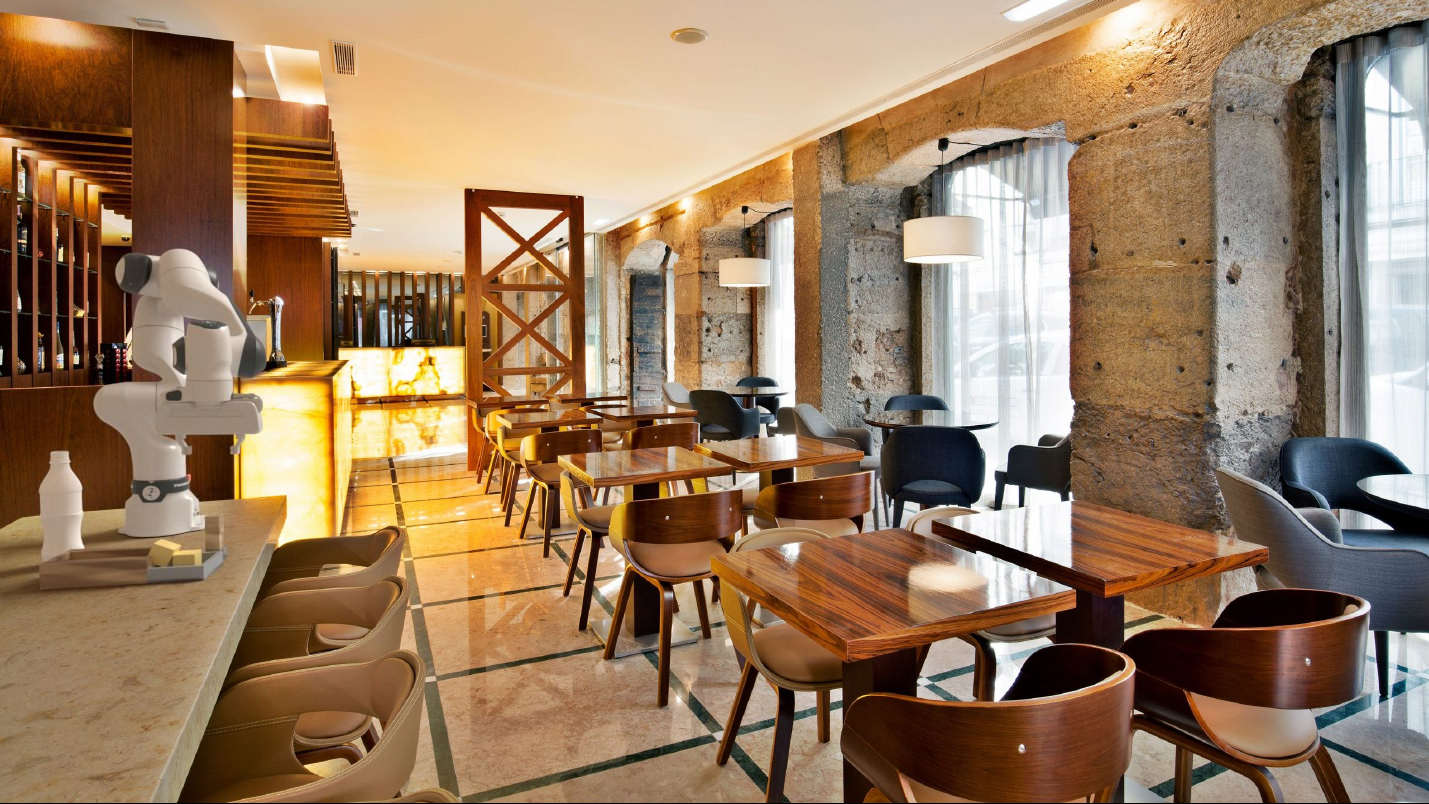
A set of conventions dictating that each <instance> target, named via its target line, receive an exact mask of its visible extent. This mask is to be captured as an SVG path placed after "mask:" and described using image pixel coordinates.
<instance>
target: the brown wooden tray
mask: <svg viewBox="0 0 1429 804" xmlns="http://www.w3.org/2000/svg"><path fill="white" fill-rule="evenodd" d="M152 546H153V545H139V546H138V545H136V546H135V545H133V546H113V547H92V548H89V547H88V548H84V549H71V550H68V551H66V552H64V553H62V554H60V555H58V556H56V557H54V558H52V559H50V560H48V561H46V562H44V563H43V562H42V563H40V564H39V565H38V573H39V590H40V591H43V590H55V589H57V590H58V589H59V590H61V589H76V588H90V587H108V586H109V587H110V586H125V585H127V586H128V585H142V584H143V585H144V584H148V583H147V569H148V568H156V567H162V566H159V565H156V564H152V556H148V554H149V552H150V550H151V548H152ZM167 567H168V566H167Z"/></svg>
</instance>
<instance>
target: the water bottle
mask: <svg viewBox="0 0 1429 804" xmlns="http://www.w3.org/2000/svg"><path fill="white" fill-rule="evenodd" d="M69 452H70V451H67V450H55V451H51V452H50V455H49V456H50V459H49V460H50V461H49V462H48V463H49V465H50V466H49V470H48V472H47V474H46V476H45V477H44V478H43V480H42V481H41V483H40V485H39V489H38V494H39V507H40V511H39V512H40V514H39V521H40V524H41V526H42V529H43V545H42V548H41V550H40V556H41V561H42V563H44V562H46V561H48V560H50V559H52V558H54V557H56V556H58V555H60V554H62V553H64V552H66V551H68V550H71V549H85V545H84V544H83V540H82V534H81V533H82V532H81V527H82V522H83V518H84V510H83V495H82V494H83V493H82V491H83V485H82V483H81V481H80V480H79V478H78V477H77V475H76V474H75V472H74V471H73V470H72V468H71V466H70V463H71V460H70V459H71V458H70V457H69V455H70V454H69Z"/></svg>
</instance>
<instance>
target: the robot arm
mask: <svg viewBox="0 0 1429 804" xmlns="http://www.w3.org/2000/svg"><path fill="white" fill-rule="evenodd" d="M115 279H116V283H117V286H118V287H119V288H120V289H121V290H122V291H124V292H126V293H129V294H132V295H133V294H134V295H141V297H139V300H137V304H136V307H135V311H134V316H133V322H132V323H133V324H132V345H131V346H132V349H131V356H132V360H133V361H134V363H135V364H136V365H137V366H138V367H140V368H141V369H143V370H146V371H148V372H149V373H150V372H151V373H153V374H156V375H158V376H159V377H160V378H161V380H159V381H123V382H118V383H111V384H106V385H103V386H102V387H100V389H98V390H97V392H96V393H95V396H94V397H93V409H94V412H95V414H96V416H97V417H98V418H99V419H100V420H101V421H102V422H103V423H106V424H107V425H109V426H111V427H112V428H113V429H115V430H116V431H117V432H119V433H120V435H121V436H122V437H123V438H124V440H125V441H126V443H127V444H128V446H129V449H130V453H131V454H130V455H131V462H132V476H133V477H132V479H131V480H130V481H131V483H130V488H131V489H130V490H131V493H132V495H131V497H129V498H128V499H127V500H126V501H125V505H124V506H125V507H124V526H123V527H120V528H118V530H117V533H118V534H121V535H122V534H123V535H127V536H129V537H136V538H139V537H140V538H144V537H145V538H147V537H148V538H151V537H152V538H153V537H163V536H164V537H165V536H171V535H172V536H173V535H177V534H178V535H179V534H182V533H183V534H184V533H188V532H194V531H200V530H201V531H202V530H203V529H204V530H205V516H207V515H208V514H207V515H206V514H200V500H199V498H197V497H196V495H194V493H193V492H192V491H191V490H190V488H191V487H190V482H191V478H192V476H191V474H190V473H189V474H187V467H186V466H187V464H186V463H187V461H186V460H187V459H186V457H187V456H190V455H192V454H193V446H192V445H189V446H188V444H187V442H186V441H185V439H186V438H187V435H188V436H189V435H193V436H194V435H195V436H197V435H198V436H199V435H201V436H202V435H203V436H205V435H235V439H236V440H237V441H236V443H235V444H234V445H231V446H230V447H229V449H230V451H229V452H230V455H239V454H240V453H241V446H242V444H243V442H244V441H245V440H246V435H257V434H260V433H261V432H262V430H263V429H264V425H263V423H264V422H263V416H262V411H263V410H264V409H263V407H264V406H263V405H264V402H263V399H262V397H260V396H259V395H257V394H255V393H241V392H239V393H238V392H236V393H235V392H234V378H235V377H236V378H244V379H245V378H246V379H253V378H255V377H257V376H258V375H259V374H261V373H262V372H263V371H264V370H265V369H266V366H267V352H266V348H265V345H264V344H263V342H262V341H261V339H259V338H258V337H257V336H256V335H255V333H254V331H253V330H252V328H251V327H250V325H249V323H248V321H247V320H246V317H245V316H244V314H243V313H242V311H241V309H240V308H239V306H237V305H238V304H237V303H236V302H235V301H234V299H233V298H232V297H230V296H229V295H227V294H224V293H223V292H222V291H220V290H219V287H220V286H219V284H220V283H219V276H218V273H217V271H216V270H215V269H214V268H212V267H210V266H208V265H206V264H204V263H203V262H202V260H201V258H200V257H199V256H198V255H197V254H196V253H194V252H193V251H191V250H188V249H184V248H173V249H170V250H166V251H165V252H163V253H162V254H161V255H160V256H159V255H150V254H144V253H141V252H132V253H131V252H129V253H126V254H124V255H122V256H121V257H120V260H119V261H118V262H117V264H116V267H115ZM184 318H188V319H193V321H190V322H189V323H188V324H187V327H186V334H185V323H184V321H185V320H184ZM166 435H167V436H166ZM171 435H174V436H175V439H174V438H172V437H171V438H170V437H168V436H171Z"/></svg>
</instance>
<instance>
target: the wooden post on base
mask: <svg viewBox="0 0 1429 804" xmlns="http://www.w3.org/2000/svg"><path fill="white" fill-rule="evenodd" d="M224 529H225V528H224V513H209V514H207V516H205V527H204V535H205V536H204V537H205V538H204V541H205V542H204V543H205V544H204V546H205V547H204V548H205V552H214V551H222V553H223V561H224V560H225V559H226V558H228V551H227V550H228V549H227V548H228V546H225V539H224V538H225V537H224Z"/></svg>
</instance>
